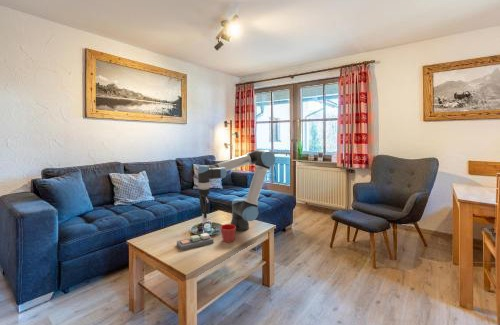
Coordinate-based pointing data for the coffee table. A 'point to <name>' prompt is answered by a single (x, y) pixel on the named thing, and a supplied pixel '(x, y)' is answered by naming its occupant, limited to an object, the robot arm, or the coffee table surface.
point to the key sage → (195, 238)
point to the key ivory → (205, 236)
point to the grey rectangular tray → (194, 243)
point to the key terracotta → (184, 242)
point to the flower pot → (228, 232)
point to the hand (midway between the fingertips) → (204, 222)
